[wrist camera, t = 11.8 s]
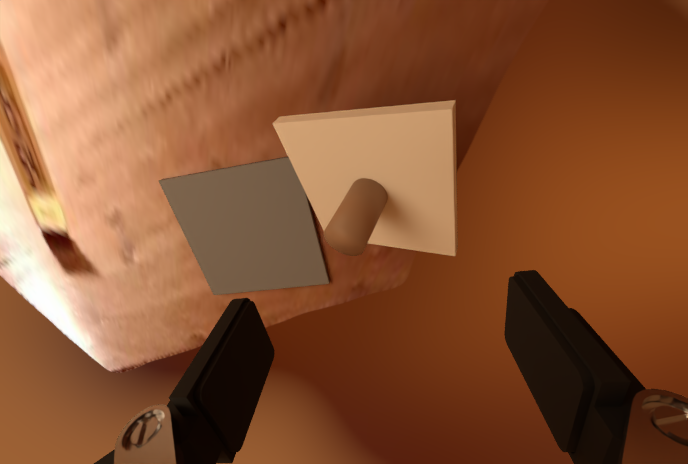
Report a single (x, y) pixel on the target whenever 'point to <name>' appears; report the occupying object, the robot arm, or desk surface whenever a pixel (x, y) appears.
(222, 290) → the slate mat
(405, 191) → the cover board
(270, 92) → the desk surface
